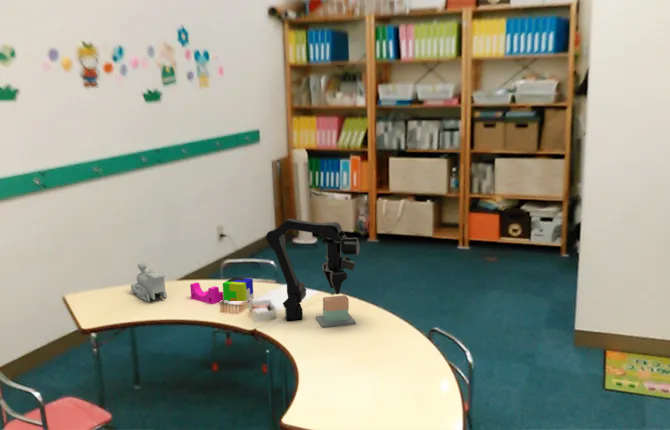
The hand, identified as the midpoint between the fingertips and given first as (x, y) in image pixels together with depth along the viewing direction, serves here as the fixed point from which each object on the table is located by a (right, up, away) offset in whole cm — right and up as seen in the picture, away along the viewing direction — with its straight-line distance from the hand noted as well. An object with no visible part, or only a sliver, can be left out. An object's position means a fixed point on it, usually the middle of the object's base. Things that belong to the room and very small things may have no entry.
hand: (334, 290), depth 256 cm
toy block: (-59, -9, +35) cm, 69 cm away
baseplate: (0, -13, +2) cm, 13 cm away
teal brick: (0, -12, +2) cm, 12 cm away
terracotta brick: (0, -7, +1) cm, 8 cm away
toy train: (-88, -8, +42) cm, 98 cm away
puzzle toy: (-44, -9, +31) cm, 55 cm away
